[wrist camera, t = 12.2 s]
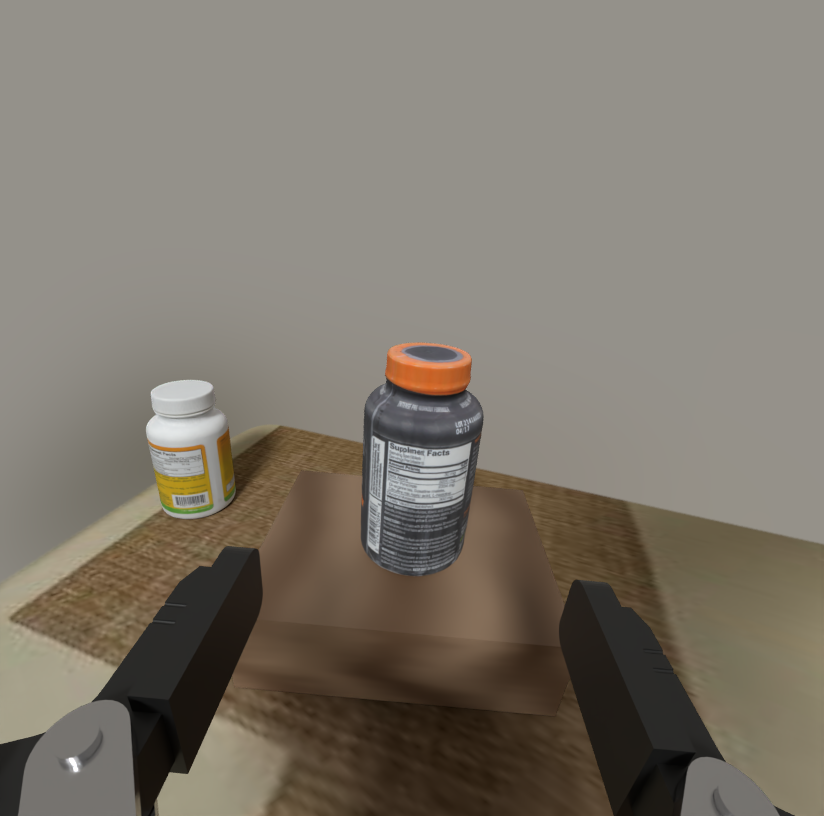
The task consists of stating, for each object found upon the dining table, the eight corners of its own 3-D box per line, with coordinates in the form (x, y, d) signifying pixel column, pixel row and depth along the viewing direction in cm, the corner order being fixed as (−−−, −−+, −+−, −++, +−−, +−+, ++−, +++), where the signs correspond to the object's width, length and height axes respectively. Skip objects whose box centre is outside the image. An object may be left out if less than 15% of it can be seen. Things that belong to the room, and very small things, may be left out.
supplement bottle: (212, 473, 36) (197, 371, 32) (250, 497, 34) (239, 388, 30) (148, 502, 32) (122, 388, 28) (186, 531, 29) (163, 410, 25)
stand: (510, 544, 31) (522, 490, 29) (555, 716, 20) (580, 648, 18) (303, 525, 31) (301, 470, 29) (234, 687, 20) (223, 616, 18)
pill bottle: (395, 497, 27) (408, 329, 22) (477, 532, 24) (511, 351, 20) (337, 549, 22) (340, 349, 18) (433, 600, 20) (464, 380, 15)
